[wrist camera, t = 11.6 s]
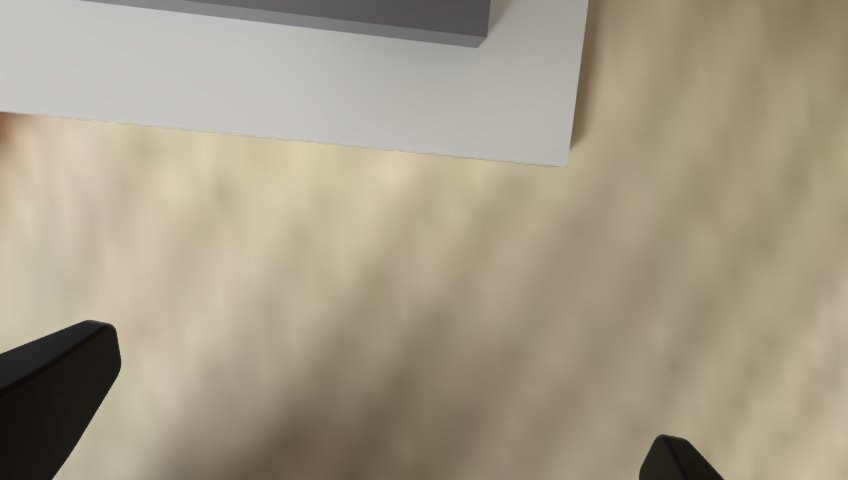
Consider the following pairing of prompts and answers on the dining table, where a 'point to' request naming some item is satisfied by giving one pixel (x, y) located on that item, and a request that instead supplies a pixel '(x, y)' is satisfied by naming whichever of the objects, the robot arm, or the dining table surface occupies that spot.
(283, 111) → the plate
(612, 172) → the dining table surface
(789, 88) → the dining table surface
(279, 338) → the dining table surface
